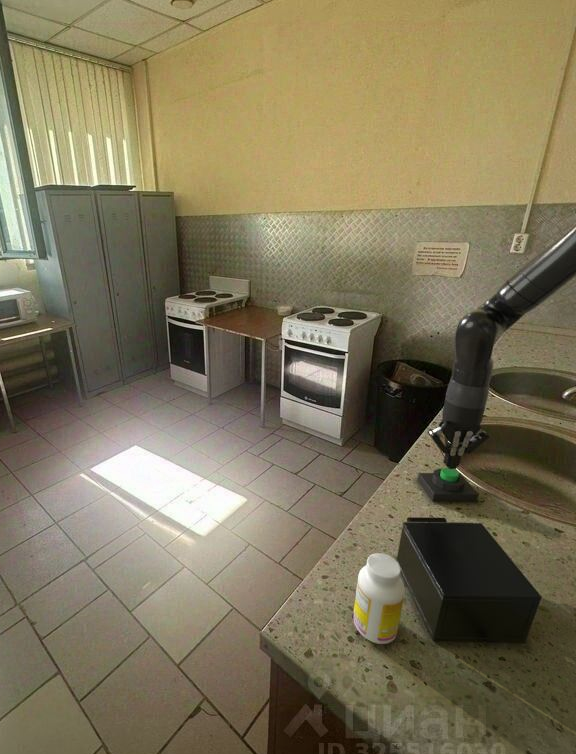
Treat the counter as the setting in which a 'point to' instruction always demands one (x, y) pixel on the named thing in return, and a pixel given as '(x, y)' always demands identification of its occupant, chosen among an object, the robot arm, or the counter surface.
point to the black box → (465, 584)
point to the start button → (449, 475)
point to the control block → (447, 488)
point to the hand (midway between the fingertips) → (450, 466)
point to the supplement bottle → (379, 599)
